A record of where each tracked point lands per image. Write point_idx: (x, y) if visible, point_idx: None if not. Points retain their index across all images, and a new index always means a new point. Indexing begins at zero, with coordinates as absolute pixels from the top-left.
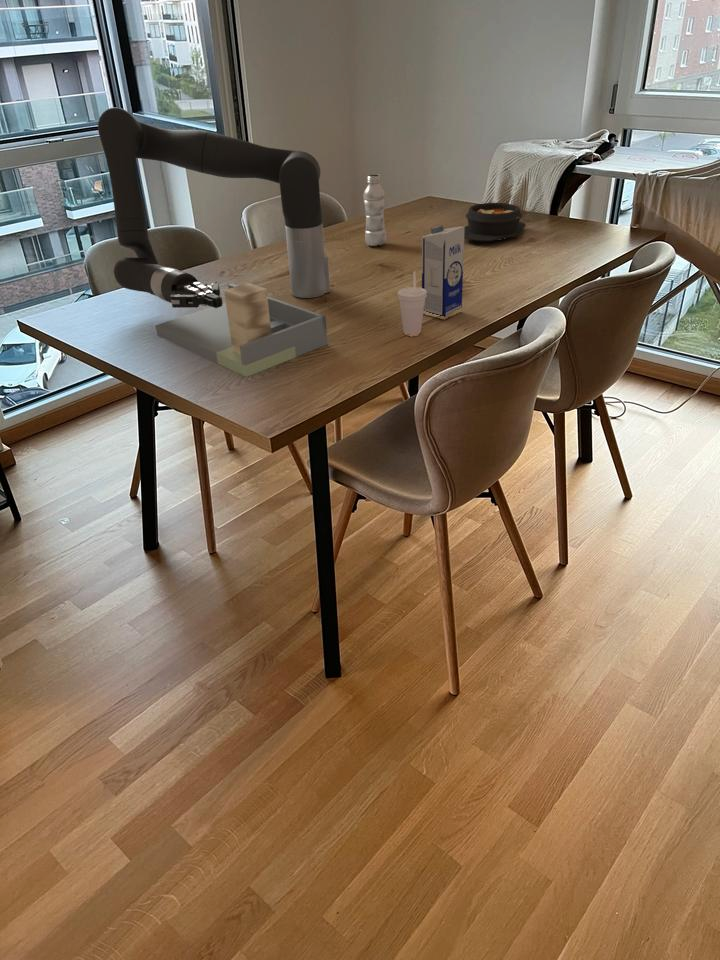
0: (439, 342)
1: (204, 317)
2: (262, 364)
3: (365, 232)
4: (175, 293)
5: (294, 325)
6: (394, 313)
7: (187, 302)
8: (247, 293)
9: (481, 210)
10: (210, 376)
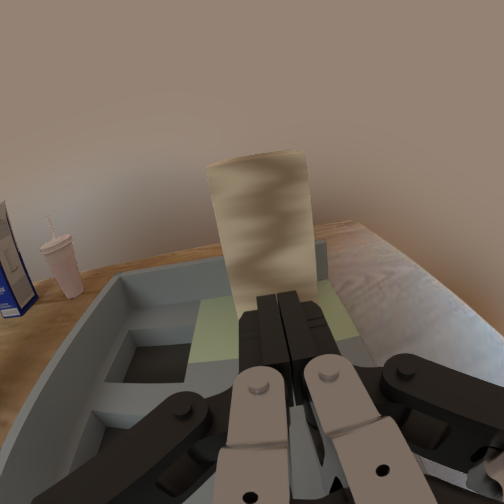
0: (92, 273)
1: None
2: None
3: None
4: None
5: (180, 265)
6: (16, 334)
7: (445, 435)
8: (266, 153)
9: None
10: (387, 317)
